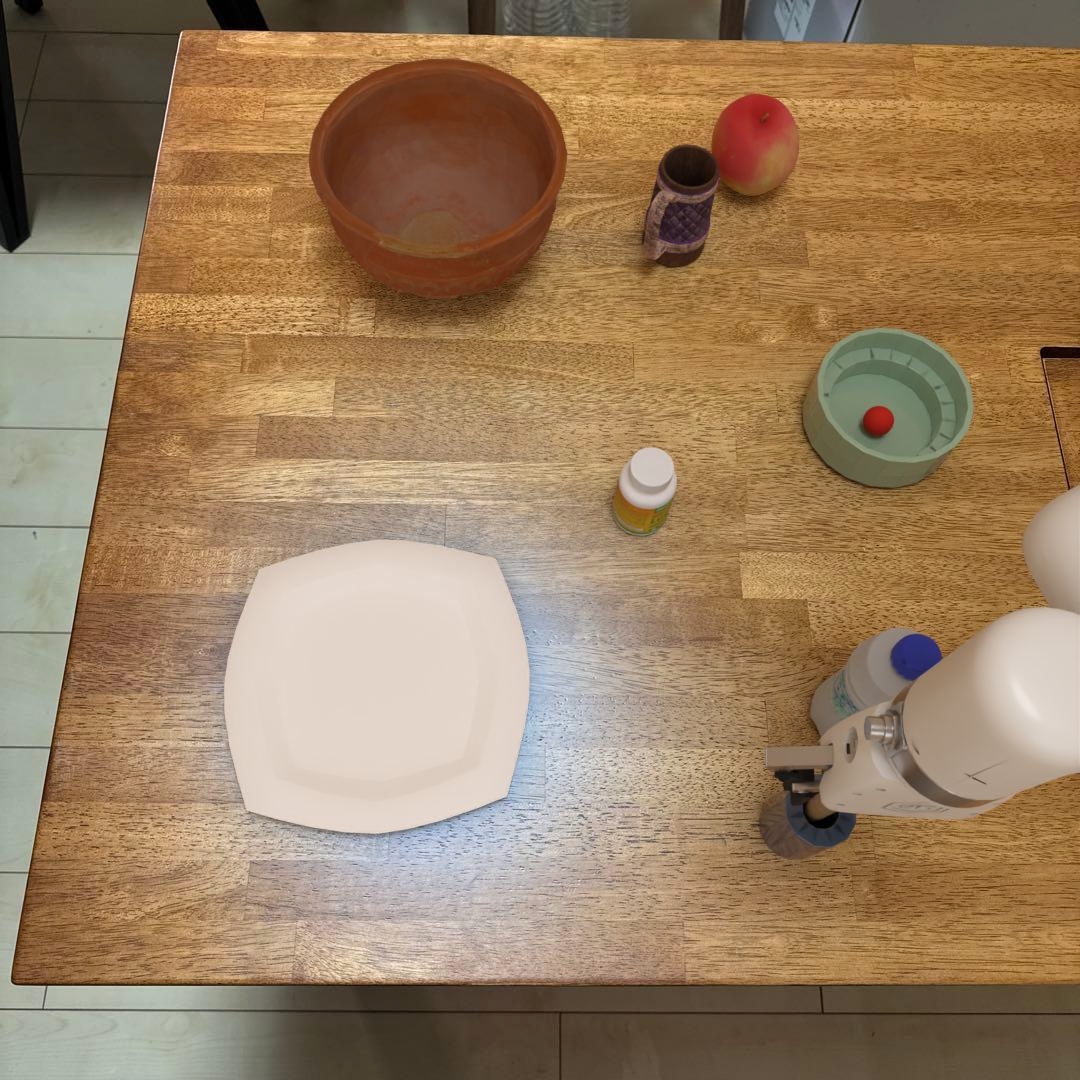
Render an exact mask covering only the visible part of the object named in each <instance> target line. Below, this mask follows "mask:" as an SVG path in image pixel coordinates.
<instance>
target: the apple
mask: <svg viewBox="0 0 1080 1080" xmlns="http://www.w3.org/2000/svg"><path fill="white" fill-rule="evenodd" d="M710 146H711V147H710V148H711V149H710V150H711V153H712V154H713V156H714V157H715V158H716V159H717V162H718V165H719V179H721V180H722V182H723V183H724V184H725V185H726V186H727V187H728V188H730V189H731V190H733V191H734V192H737V193H739V194H740V195H744V196H751V197H752V196H753V197H756V196H760V195H763V194H766V193H768V192H770V191H772V190H775V188H777V187H778V186H780V185H782V184H783V183H785V181H786V180H787V179H789V177H790V176H791V175H792V173H793V172H794V170H795V167H796V165H797V163H798V162H797V161H798V158H799V153H800V134H799V130H798V125H797V123H796V121H795V118H794V116H793V114H792V112H791V111H790V109H789V108H788V107H787V106H786V104H784V103H783V102H782V101H781V100H779V99H778V98H775V97H773V96H770V95H767V94H761V93H751V94H747V95H744V96H741V97H739V98H736V99H735V100H733V101H732V102H730V103H729V104H728V105H727V106H726V107H725V108H724V109H723V110H722V112H721V113H720V114H719V116H718V118H717V119H716V123H715V124H714V128H713V131H712V136H711V145H710Z"/></svg>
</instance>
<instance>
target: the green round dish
mask: <svg viewBox="0 0 1080 1080" xmlns="http://www.w3.org/2000/svg"><path fill="white" fill-rule="evenodd" d="M973 397H974V396H973V389H972V387H971V384H970V382H969V380H968V378H967V376H966V374H965V372H964V370H963V368H962V367H961V366H960V364H959V363H958V362H957V361H956V360H955V359H954V358H953V357H952V356H951V355H950V353H949V352H948V351H947V350H945V349H944V348H942V346H940V345H937V343H935V342H933V341H932V340H931V339H929V338H927V337H925V336H923V335H920V334H917V333H914V332H911V331H908V330H905V329H902V328H889V327H873V328H868V329H863V330H859V331H855V332H853V333H851V334H849V335H848V336H845V337H844V338H842V339H840V340H839V341H837V342H835V344H834V345H832V347H831V348H830V350H829V351H828V352H827V353H826V354H825V355H824V356H823V358H822V360H821V362H820V363H819V366H818V368H817V370H816V372H815V374H814V376H813V378H812V379H811V381H810V384H809V385H808V388H807V390H806V393H805V396H804V400H803V402H802V424H803V429H804V431H805V433H806V436H807V438H808V441H809V443H810V445H811V447H812V448H813V449H814V450H815V452H816V453H817V454H818V456H820V458H821V459H822V460H823V462H824V463H825V464H826V465H827V466H829V467H830V468H832V469H833V470H835V471H836V472H837V473H839V474H840V475H841V476H843V477H845V478H847V479H849V480H852V481H854V482H857V483H860V484H863V485H866V486H869V487H877V488H891V489H893V488H895V489H896V488H899V487H903V486H908V485H913V484H917V483H919V482H920V481H922V480H924V479H925V478H927V477H928V476H930V475H932V474H933V473H935V472H936V471H937V470H938V468H939V467H940V466H941V465H942V464H943V463H944V462H945V460H946V459H947V458H948V457H949V456H950V454H951V453H952V452H953V451H954V450H955V448H956V447H957V446H958V445H959V444H960V442H961V441H962V439H963V438H964V437H965V435H966V434H967V433H968V432H969V430H970V427H971V423H972V419H973V416H974V413H975V407H974V399H973ZM874 406H883V407H886V408H888V409H889V410H890V411H891V412H892V414H893V416H894V425H893V427H892V429H891V430H890V431H889V432H888V433H886V434H884V435H881V436H875V435H871V434H870V433H868V432H867V431H866V430H865V428H864V426H863V417H864V414H865V413H866V412H867V411H868V410H869V409H870V408H872V407H874Z"/></svg>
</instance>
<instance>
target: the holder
mask: <svg viewBox="0 0 1080 1080" xmlns="http://www.w3.org/2000/svg"><path fill="white" fill-rule="evenodd" d="M814 774H815V780H821V779H822V774H817V773H814ZM818 793H819V792H815V795H816V794H818ZM759 815H760V816H759V821H758V823H759V824H758V825H759V832H760V835H761V838H762V839H763V841H764V843H765V844H766V846H767V847H768V848H769V850H771V851H772V852H773V853H774V854H776V855H777V856H779V857H781V858H784V859H786V860H792V861H793V860H796V861H797V860H805V859H808V858H810V857H813V856H815V855H818V854H820V853H823V852H825V851H827V850H830V849H832V848H835V847H836V846H839V845H840V844H842V843H843V842H846V841H847V840H848V839H850V836H851V834H852V833H853V830H854V828H855V827H856V826H857V822H858V820H857V814H856V813H845V812H838V811H837V812H835V813H833V814H831V815H829V816H827V817H825V818H823V819H821V820H819V821H817V822H815V823H813V824H809V823H808V821H807V820H806V818H805V816H804V814H803V804H802V805H800V806H792V805H791V796H790V791H784V788H783V789H782V790H780V791H778V793H776V794H775V795H772V796H771V797H770V798H769V799H768V800H767V802H766V803H765V804H764V805H763V807H762V810H761V812H760V814H759Z"/></svg>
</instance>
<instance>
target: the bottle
mask: <svg viewBox="0 0 1080 1080" xmlns="http://www.w3.org/2000/svg"><path fill="white" fill-rule="evenodd" d="M942 659H943V657H942V651H941V649H940V647H939V645H938V644H937V642H936V641H935V640H934V639H933V638H931V637H930V636H927V635H925V634H922V633H921V632H919V631H917V630H914V629H911V628H907V627H906V628H905V627H893V628H889V629H886V630H883V631H882V632H880V633H877V634H875V635H872V636H870V637H868V638H867V639H865V640H863V641H862V642H860V643H859V644H858V646H857V647H856V648H855V649H854V650H853V652H852V653H851V655H850V656H849V657H848V659H847V662H846V664H845V665H844V666H842V668H840V669H839V670H838V671H837V672H836V673H834V674H833V675H831V676H830V677H828V678H827V679H825V680H824V681H823V682H822V683H821V684H820V685H818V687H817V689H816V690H815V691H814V693H813V696H812V700H811V705H810V708H809V716H810V719H811V720H812V721H813V723H814V724H815V726H816V729H817V731H818V734H819V736H820V737H822V736H823V735H824V733H825V732H826V731H827V730H829V729H830V728H831V727H833V726H834V725H835V724H837V723H838V722H840V721H842V720H844V719H845V718H847V717H849V716H851V715H853V714H855V713H858V712H860V711H862V710H864V709H867V708H869V707H872V706H875V705H877V704H880V703H883V702H887V701H892V699H893V698H894V697H895V696H896V695H897V694H898V692H899V691H901V690H902V689H903V688H905V687H906V686H907V685H909V684H910V683H911V682H913V681H914V680H915V679H917V678H918V677H919V676H921V675H922V674H923V673H925V672H926V671H928V670H929V669H930V668H932V667H933V666H934V665H936V664H937V663H938V662H940V661H941V660H942Z"/></svg>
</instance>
